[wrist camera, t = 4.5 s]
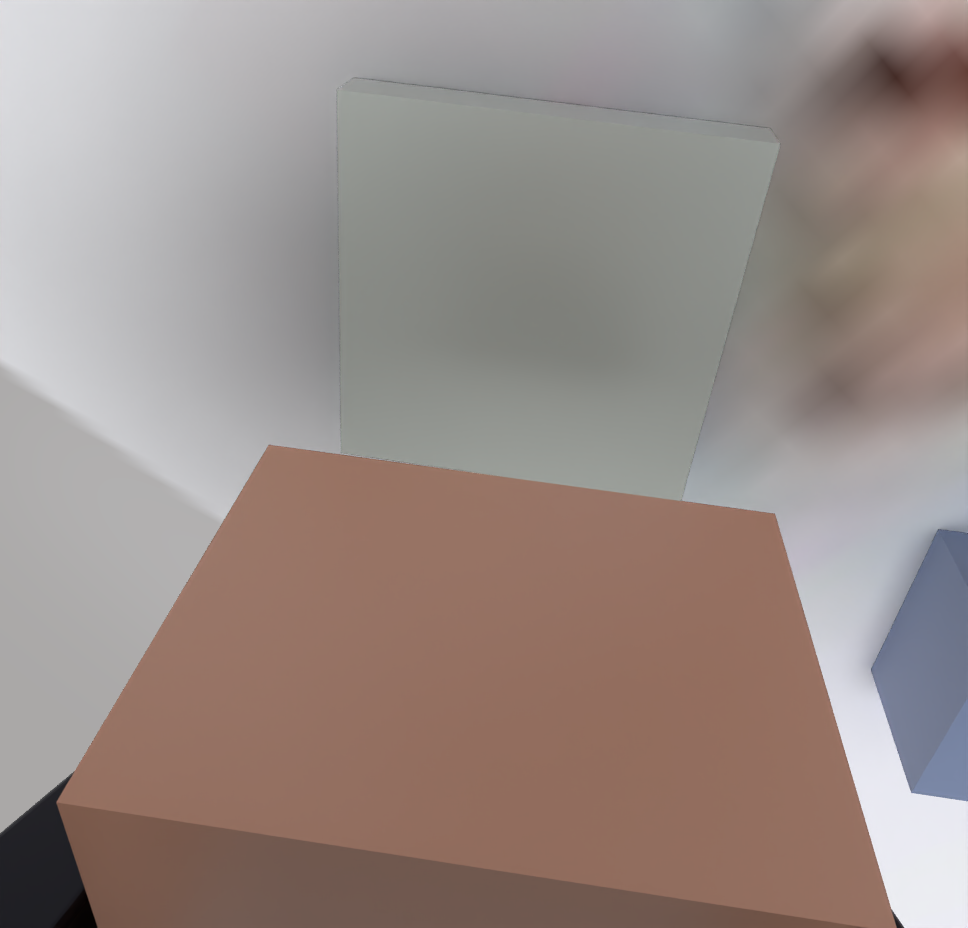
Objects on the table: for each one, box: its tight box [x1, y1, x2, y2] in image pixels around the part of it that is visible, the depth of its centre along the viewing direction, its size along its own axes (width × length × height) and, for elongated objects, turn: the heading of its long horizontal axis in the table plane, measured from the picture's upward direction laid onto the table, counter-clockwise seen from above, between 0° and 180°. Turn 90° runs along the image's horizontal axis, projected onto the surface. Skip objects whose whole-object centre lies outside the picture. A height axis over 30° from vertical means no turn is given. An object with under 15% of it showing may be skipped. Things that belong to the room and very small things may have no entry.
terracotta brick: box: [56, 445, 897, 928], centre depth 8 cm, size 5×5×4 cm
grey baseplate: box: [337, 78, 780, 501], centre depth 18 cm, size 8×8×1 cm
